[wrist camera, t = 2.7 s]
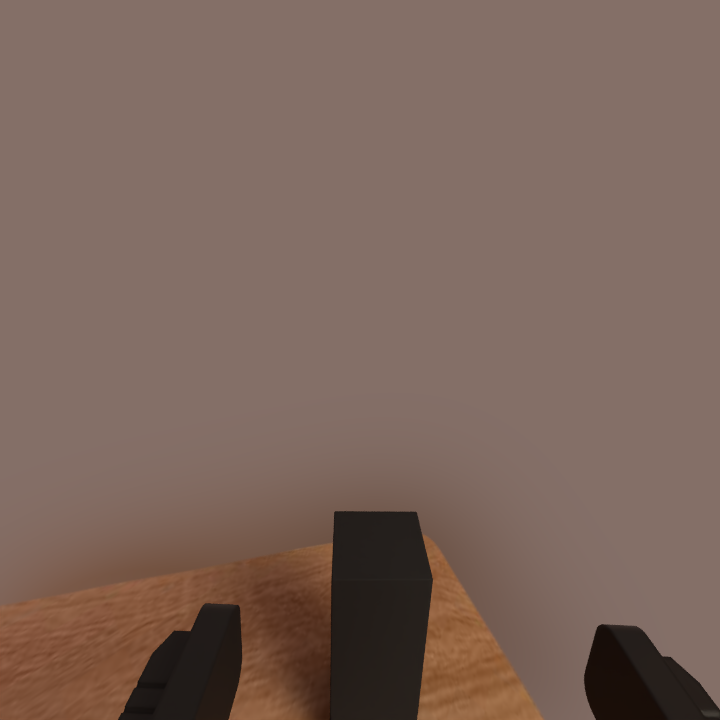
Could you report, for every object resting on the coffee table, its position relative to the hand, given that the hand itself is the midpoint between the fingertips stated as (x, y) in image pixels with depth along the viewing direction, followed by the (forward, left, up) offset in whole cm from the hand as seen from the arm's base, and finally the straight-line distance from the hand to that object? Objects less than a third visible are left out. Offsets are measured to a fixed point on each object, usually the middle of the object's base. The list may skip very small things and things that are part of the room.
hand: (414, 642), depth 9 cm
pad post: (+2, -10, -18) cm, 21 cm away
